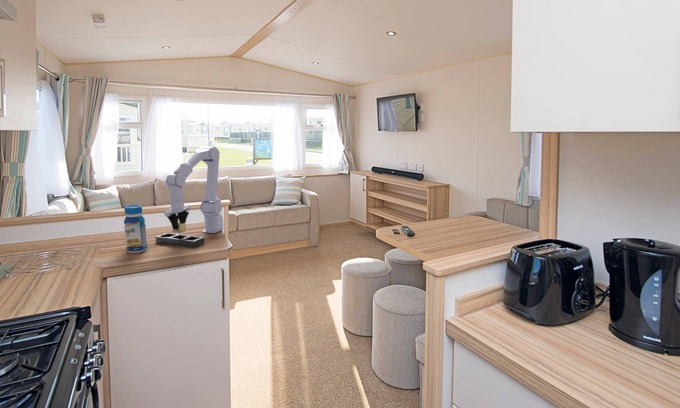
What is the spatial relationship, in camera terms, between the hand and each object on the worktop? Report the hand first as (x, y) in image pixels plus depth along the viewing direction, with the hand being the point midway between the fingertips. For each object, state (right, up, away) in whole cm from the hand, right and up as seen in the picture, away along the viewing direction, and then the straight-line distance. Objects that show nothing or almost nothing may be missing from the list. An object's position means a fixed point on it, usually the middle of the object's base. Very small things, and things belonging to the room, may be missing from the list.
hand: (179, 228), depth 182 cm
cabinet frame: (0, -7, +1) cm, 7 cm away
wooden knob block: (0, -2, 0) cm, 2 cm away
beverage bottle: (-15, -10, -9) cm, 20 cm away
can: (-17, -8, -2) cm, 19 cm away
